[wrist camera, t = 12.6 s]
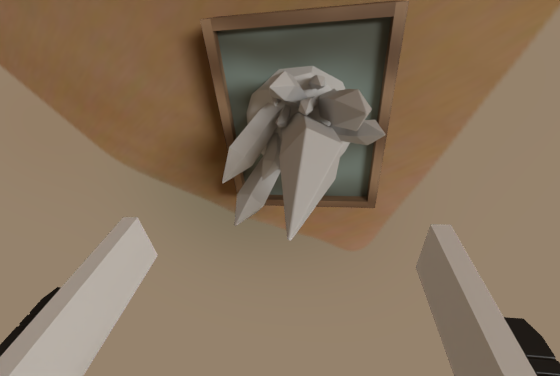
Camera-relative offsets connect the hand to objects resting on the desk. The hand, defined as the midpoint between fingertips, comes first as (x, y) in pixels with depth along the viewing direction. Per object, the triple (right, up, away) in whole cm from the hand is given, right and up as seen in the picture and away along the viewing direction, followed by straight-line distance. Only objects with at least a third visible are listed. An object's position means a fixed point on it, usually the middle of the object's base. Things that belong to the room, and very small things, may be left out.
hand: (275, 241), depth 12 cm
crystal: (+2, +8, +12) cm, 15 cm away
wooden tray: (+3, +10, +14) cm, 17 cm away
